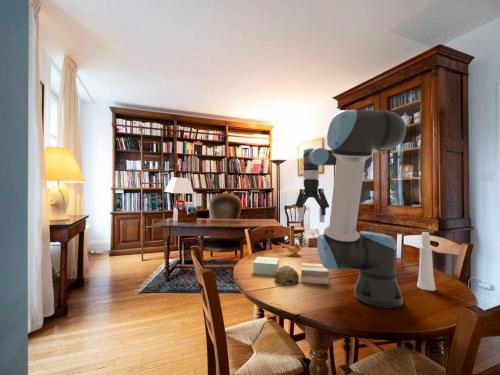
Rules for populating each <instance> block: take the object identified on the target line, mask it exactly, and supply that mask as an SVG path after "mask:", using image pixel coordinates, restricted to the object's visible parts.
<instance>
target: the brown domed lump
mask: <svg viewBox="0 0 500 375" xmlns="http://www.w3.org/2000/svg"><path fill="white" fill-rule="evenodd" d="M299 277H300V276H299V273H298V271H296V269H295V268H294V267H292V266H289V265H283V266H281V267H279V270H277V271H276V273H275V275H274V280H275V281H276V282H277V283H279V284H282V285H285V286H287V285H294V284H297V283H299Z"/></svg>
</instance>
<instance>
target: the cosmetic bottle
mask: <svg viewBox="0 0 500 375" xmlns="http://www.w3.org/2000/svg"><path fill="white" fill-rule="evenodd" d="M421 233H422V234H421V246H420V248H419V266H418V279H417V284H416V287H417V288H419V289H420V290H424V291H427V292H428V291H430V292H434V291H436V290H437V288H436V283H435V279H434V278H435V277H434V267H433V266H434V265H433V251H432V250H433V249H432V247H431V236H430V232H427V231H422V232H421Z"/></svg>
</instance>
